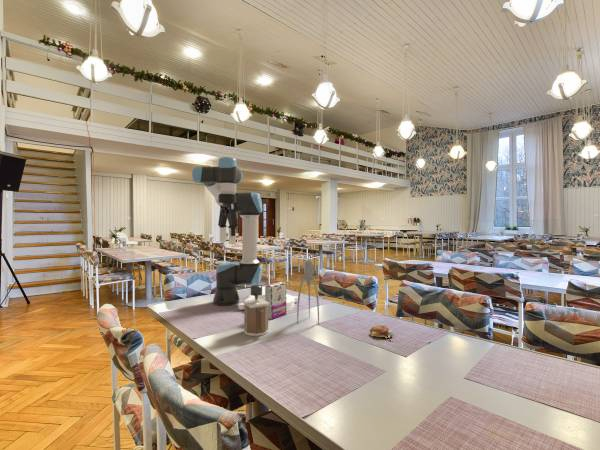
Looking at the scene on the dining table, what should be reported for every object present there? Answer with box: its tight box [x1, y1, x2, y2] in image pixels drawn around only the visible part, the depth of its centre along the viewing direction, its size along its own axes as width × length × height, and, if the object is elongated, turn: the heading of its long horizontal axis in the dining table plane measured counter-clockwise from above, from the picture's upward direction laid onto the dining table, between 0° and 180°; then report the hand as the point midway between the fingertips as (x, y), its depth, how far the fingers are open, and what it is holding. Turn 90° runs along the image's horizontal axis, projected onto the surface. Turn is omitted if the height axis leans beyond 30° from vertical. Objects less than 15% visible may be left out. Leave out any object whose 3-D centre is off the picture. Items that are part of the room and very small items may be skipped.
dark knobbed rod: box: [250, 284, 263, 303], centre depth 135 cm, size 5×5×18 cm
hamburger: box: [369, 324, 394, 342], centre depth 130 cm, size 14×14×6 cm
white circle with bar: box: [237, 292, 298, 312], centre depth 176 cm, size 28×28×5 cm
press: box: [242, 299, 270, 337], centre depth 134 cm, size 13×10×13 cm
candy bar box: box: [264, 281, 287, 320], centre depth 157 cm, size 11×5×16 cm, turn 142°
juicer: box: [296, 258, 320, 324], centre depth 151 cm, size 10×9×30 cm
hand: (227, 243), depth 134 cm, fingers open, 13 cm apart
